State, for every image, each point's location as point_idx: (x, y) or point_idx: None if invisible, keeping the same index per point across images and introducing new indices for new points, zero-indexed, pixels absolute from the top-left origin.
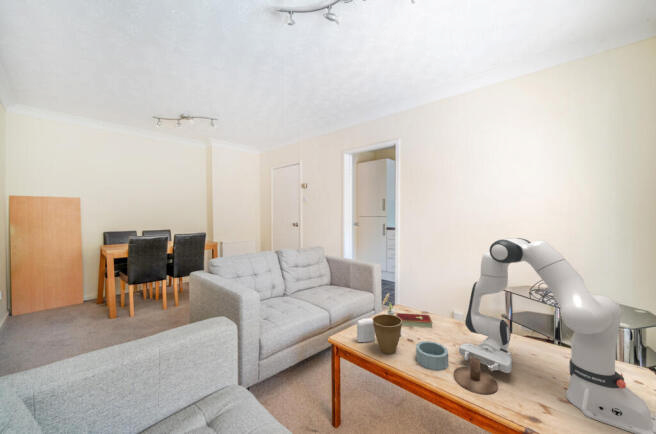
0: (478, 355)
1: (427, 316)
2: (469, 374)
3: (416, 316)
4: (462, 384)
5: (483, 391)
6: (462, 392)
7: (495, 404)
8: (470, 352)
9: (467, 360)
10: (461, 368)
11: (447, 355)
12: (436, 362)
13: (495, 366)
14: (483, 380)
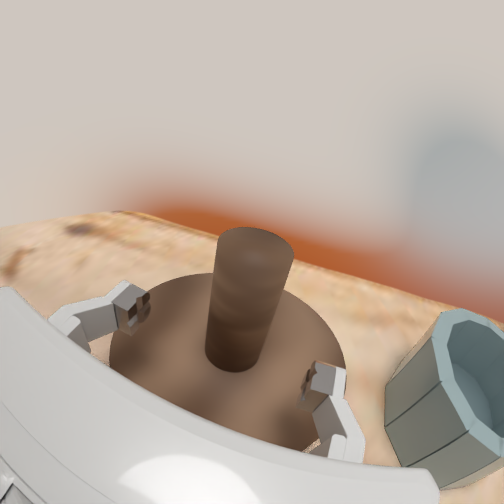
0: (215, 425)
1: None
2: (264, 373)
3: None
4: (284, 291)
5: (199, 276)
6: None
7: (167, 252)
8: (314, 458)
9: (308, 371)
10: None
11: (430, 378)
12: (425, 333)
13: (87, 305)
14: (184, 347)
